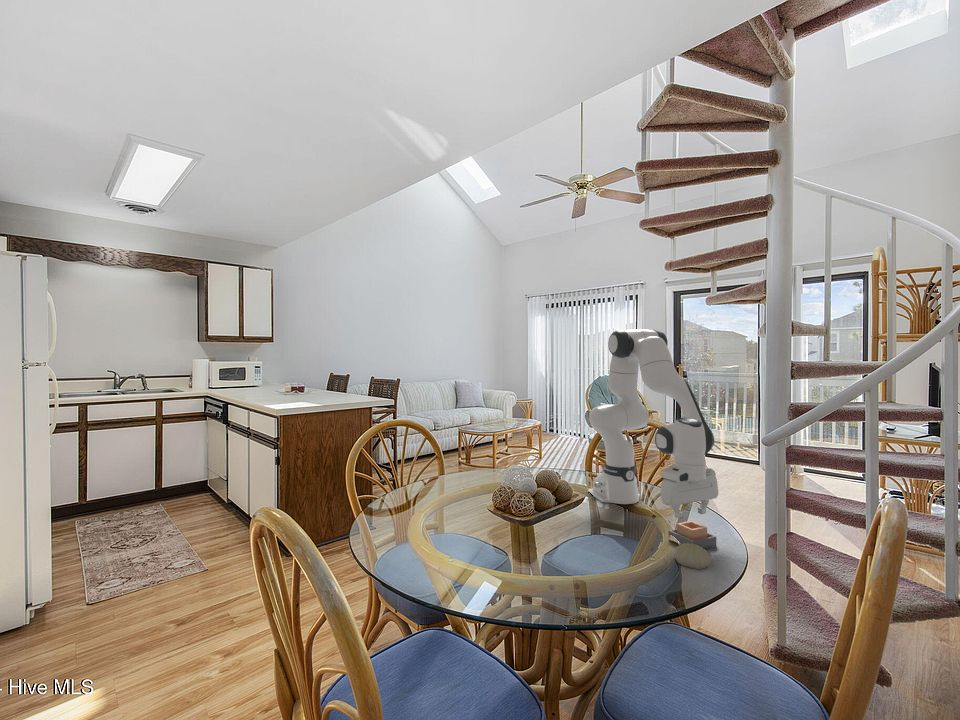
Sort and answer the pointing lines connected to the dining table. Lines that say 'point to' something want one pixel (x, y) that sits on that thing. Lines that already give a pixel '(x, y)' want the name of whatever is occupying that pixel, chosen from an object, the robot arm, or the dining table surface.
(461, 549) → the dining table surface
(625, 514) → the dining table surface
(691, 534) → the terracotta crate
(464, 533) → the dining table surface
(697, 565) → the sea urchin shell
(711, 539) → the charcoal crate
